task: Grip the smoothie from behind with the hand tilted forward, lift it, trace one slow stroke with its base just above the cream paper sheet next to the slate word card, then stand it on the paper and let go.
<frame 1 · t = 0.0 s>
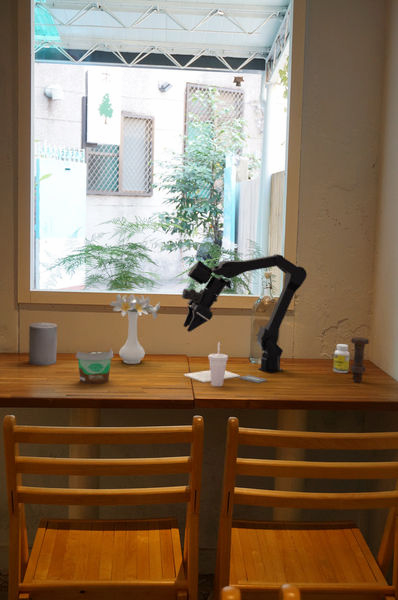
hand: (186, 328, 230), 15 cm above the table, tool tilted 35°, fingers open, 9 cm apart
supplement bottle: (340, 371, 240), on the table
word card: (253, 379, 223), on the table
pillar candle: (42, 363, 237), on the table
food container: (96, 382, 212), on the table
paper: (211, 375, 226), on the table
smoothie: (217, 385, 214), on the table
bolt: (357, 382, 226), on the table
flower vase: (133, 362, 243), on the table
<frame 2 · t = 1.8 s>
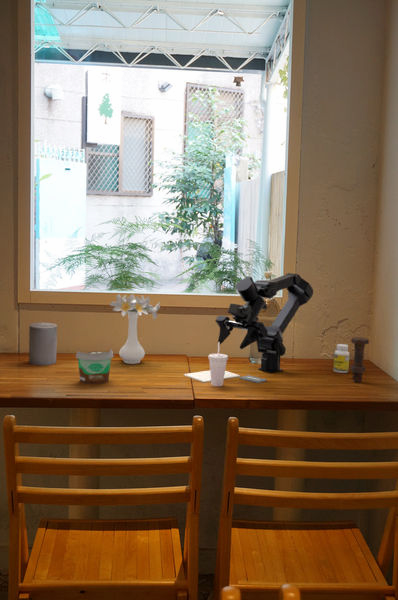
hand: (229, 346, 217), 12 cm above the table, tool tilted 45°, fingers open, 9 cm apart
nothing on the table moved.
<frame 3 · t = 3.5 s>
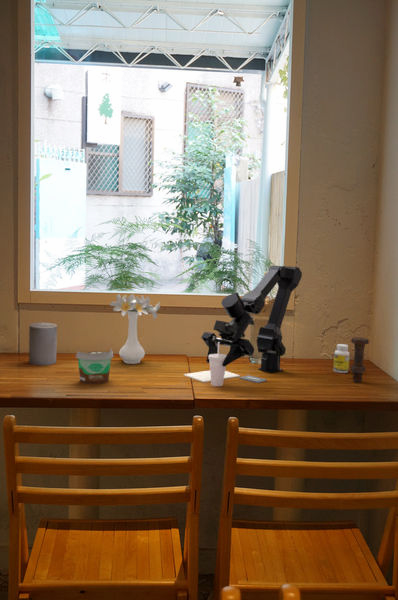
hand: (215, 364, 212), 7 cm above the table, tool tilted 45°, fingers closed on smoothie, 6 cm apart
smoothie: (217, 385, 214), on the table, touching gripper
everything else where it was.
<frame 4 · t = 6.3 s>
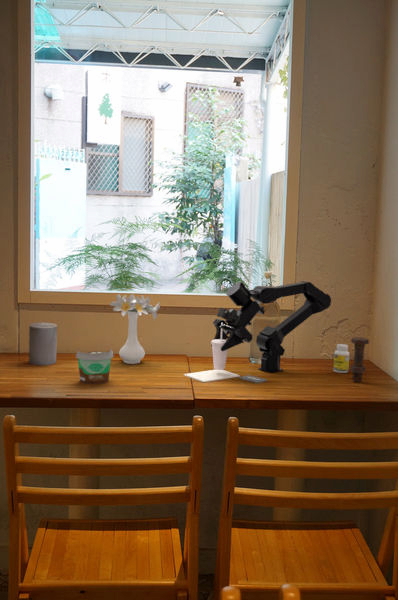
hand: (216, 348, 226), 9 cm above the table, tool tilted 45°, fingers closed on smoothie, 6 cm apart
smoothie: (219, 369, 228), point 2 cm above the table, touching gripper
everything else where it was.
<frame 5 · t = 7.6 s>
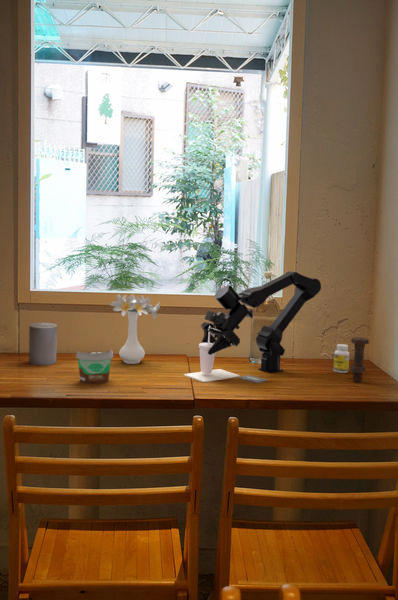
hand: (204, 351, 224), 9 cm above the table, tool tilted 45°, fingers closed on smoothie, 6 cm apart
smoothie: (206, 372, 226), point 1 cm above the table, touching gripper
everything else where it was.
when the fingers open (8 cm above the table, at t = 8.8 s): smoothie stays where it is, resting on paper.
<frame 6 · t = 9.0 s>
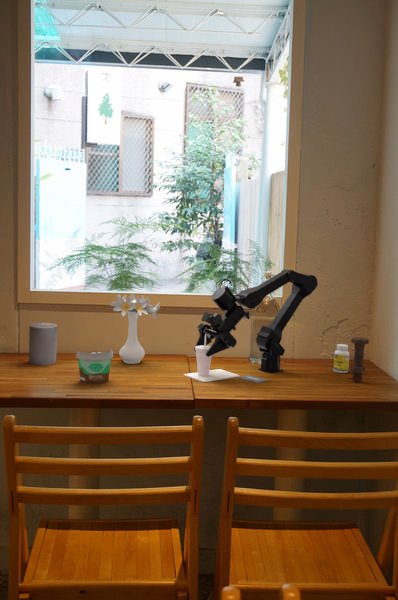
hand: (200, 353, 223), 8 cm above the table, tool tilted 45°, fingers open, 8 cm apart
smoothie: (203, 375, 225), resting on paper
everything else where it was.
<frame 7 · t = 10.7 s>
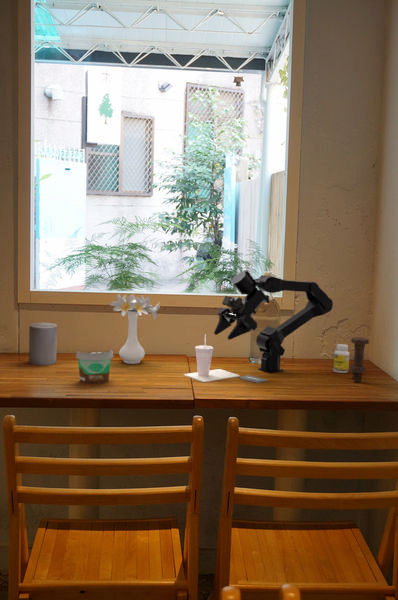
hand: (221, 336, 226), 13 cm above the table, tool tilted 45°, fingers open, 9 cm apart
nothing on the table moved.
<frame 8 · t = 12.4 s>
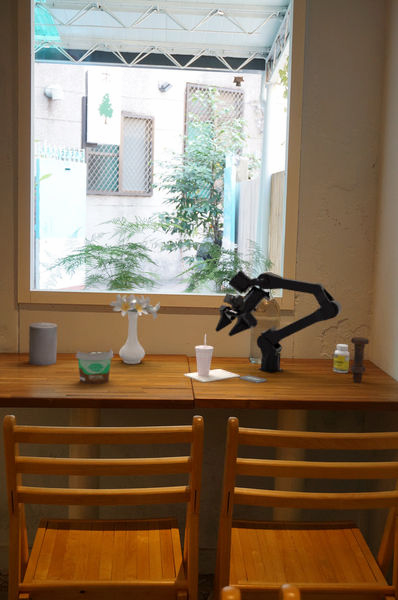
hand: (222, 333, 232), 14 cm above the table, tool tilted 45°, fingers open, 9 cm apart
nothing on the table moved.
at the end: smoothie inside the target area (3.1 cm from its centre), resting on paper; smoothie tilted 0°; the gripper is holding nothing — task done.
